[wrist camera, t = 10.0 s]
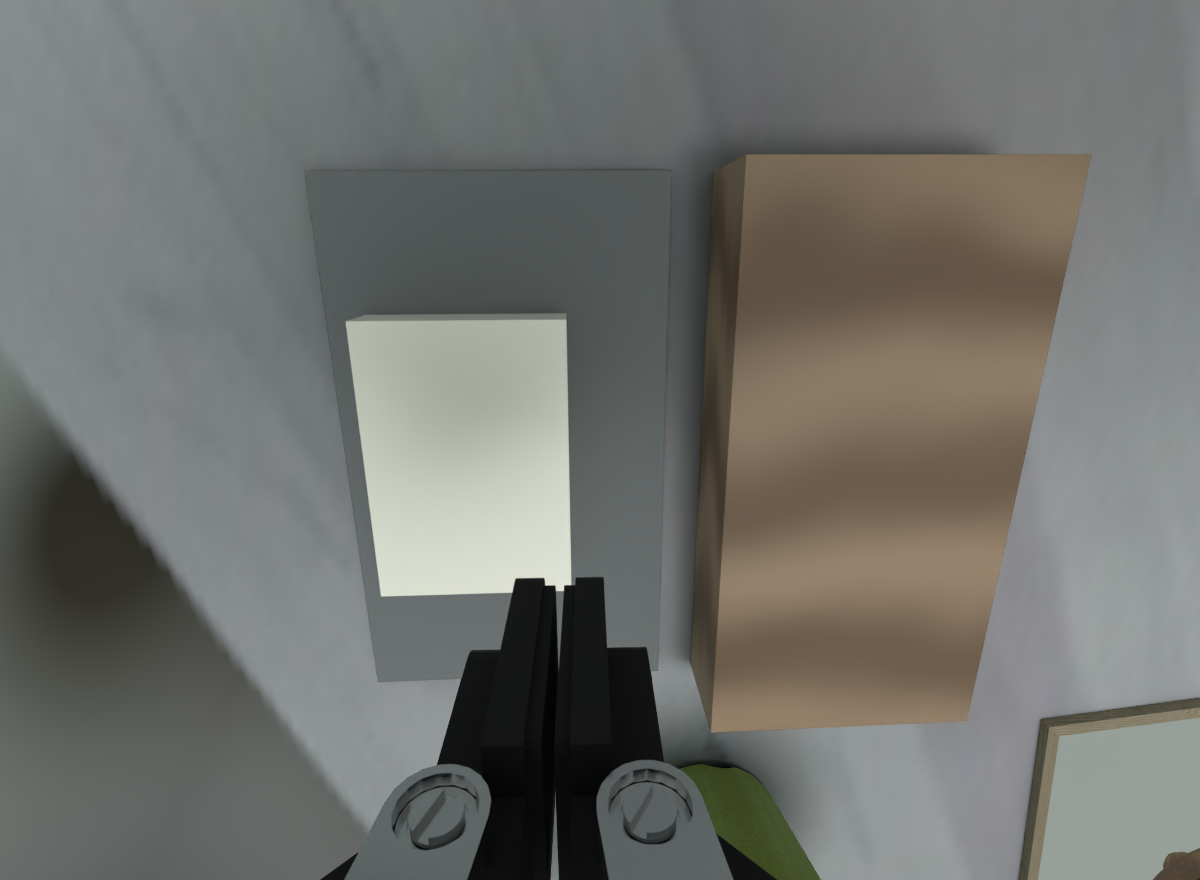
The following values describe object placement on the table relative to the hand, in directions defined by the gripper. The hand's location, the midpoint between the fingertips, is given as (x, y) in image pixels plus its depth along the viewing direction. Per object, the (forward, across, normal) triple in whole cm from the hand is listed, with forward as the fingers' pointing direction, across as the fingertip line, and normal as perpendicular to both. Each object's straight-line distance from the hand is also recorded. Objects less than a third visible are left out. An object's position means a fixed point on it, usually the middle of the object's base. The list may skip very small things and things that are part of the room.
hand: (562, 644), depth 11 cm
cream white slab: (+10, +4, 0) cm, 11 cm away
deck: (+13, -10, +1) cm, 16 cm away
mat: (+12, +3, +1) cm, 13 cm away
